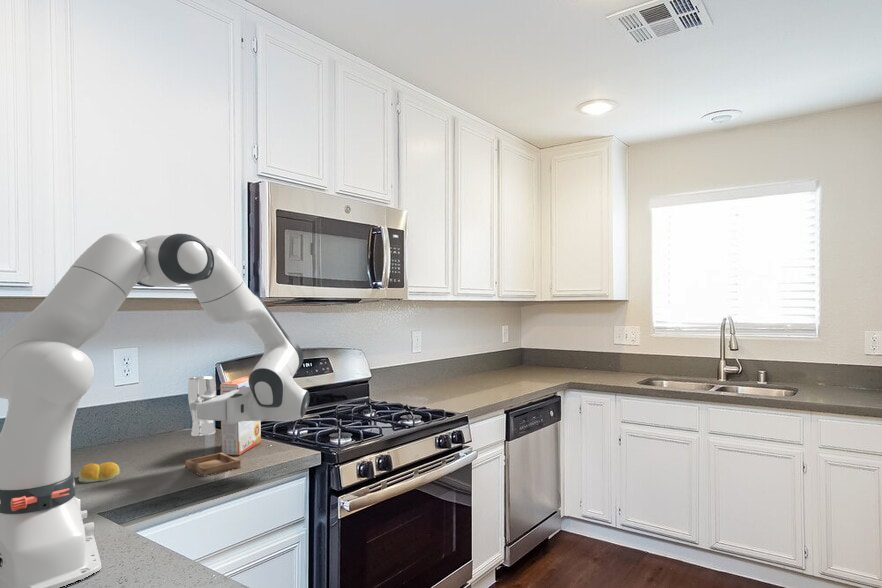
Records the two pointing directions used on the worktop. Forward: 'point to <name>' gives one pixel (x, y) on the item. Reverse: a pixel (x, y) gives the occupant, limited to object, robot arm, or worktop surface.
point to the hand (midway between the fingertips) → (199, 402)
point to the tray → (212, 464)
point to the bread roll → (98, 472)
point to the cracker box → (238, 425)
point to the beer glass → (201, 392)
